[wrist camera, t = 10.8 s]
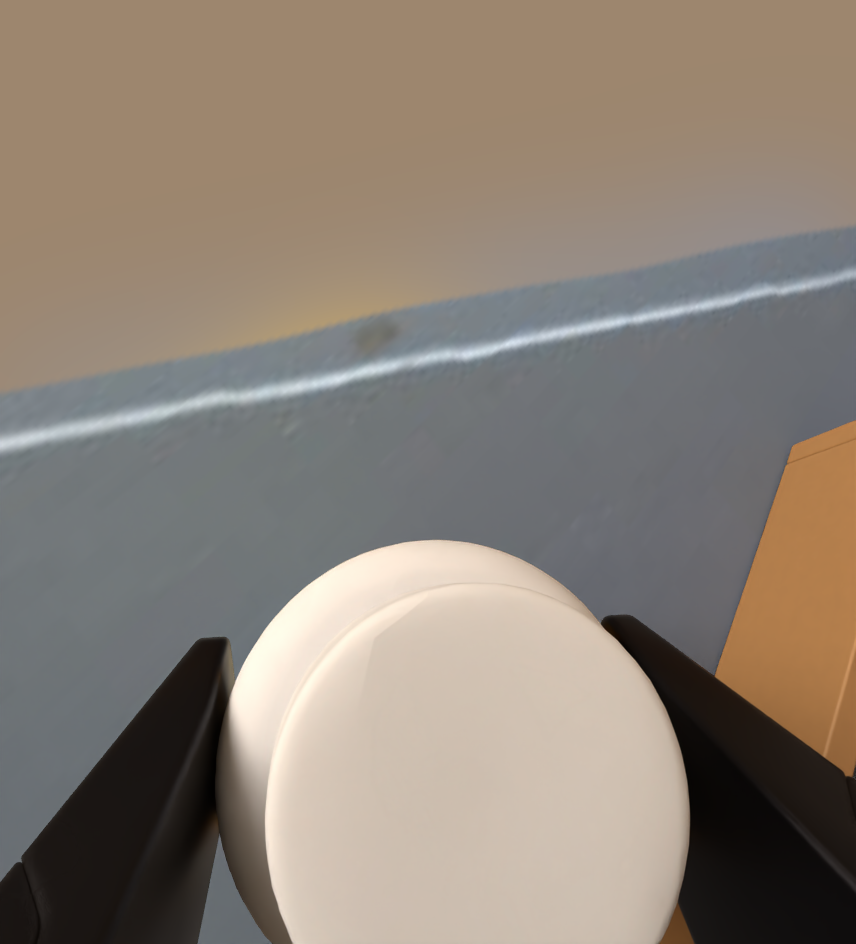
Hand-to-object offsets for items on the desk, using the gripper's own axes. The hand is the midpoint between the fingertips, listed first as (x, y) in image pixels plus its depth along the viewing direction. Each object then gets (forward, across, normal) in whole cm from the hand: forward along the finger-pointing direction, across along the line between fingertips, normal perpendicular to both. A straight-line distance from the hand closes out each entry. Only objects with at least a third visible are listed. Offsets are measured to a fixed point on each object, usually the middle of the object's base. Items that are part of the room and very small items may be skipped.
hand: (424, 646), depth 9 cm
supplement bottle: (+4, 0, +6) cm, 7 cm away
